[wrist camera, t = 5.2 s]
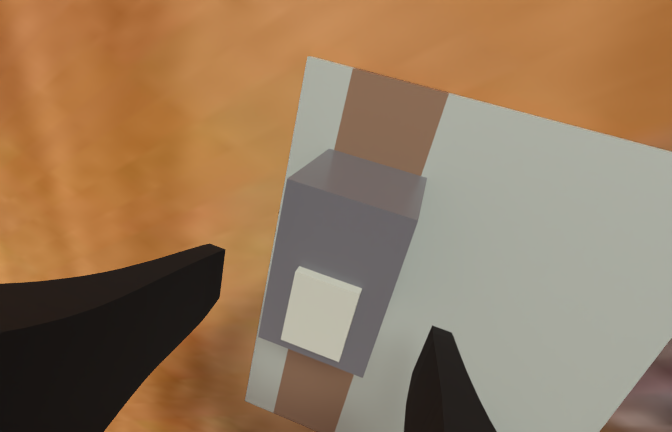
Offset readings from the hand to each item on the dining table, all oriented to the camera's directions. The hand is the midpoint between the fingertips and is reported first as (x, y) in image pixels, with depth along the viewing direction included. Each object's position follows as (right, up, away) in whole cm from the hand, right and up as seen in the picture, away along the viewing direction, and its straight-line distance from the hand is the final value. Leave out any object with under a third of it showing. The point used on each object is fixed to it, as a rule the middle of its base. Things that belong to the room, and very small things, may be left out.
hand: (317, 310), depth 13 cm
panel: (+6, -2, +7) cm, 9 cm away
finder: (+2, +2, +6) cm, 7 cm away
